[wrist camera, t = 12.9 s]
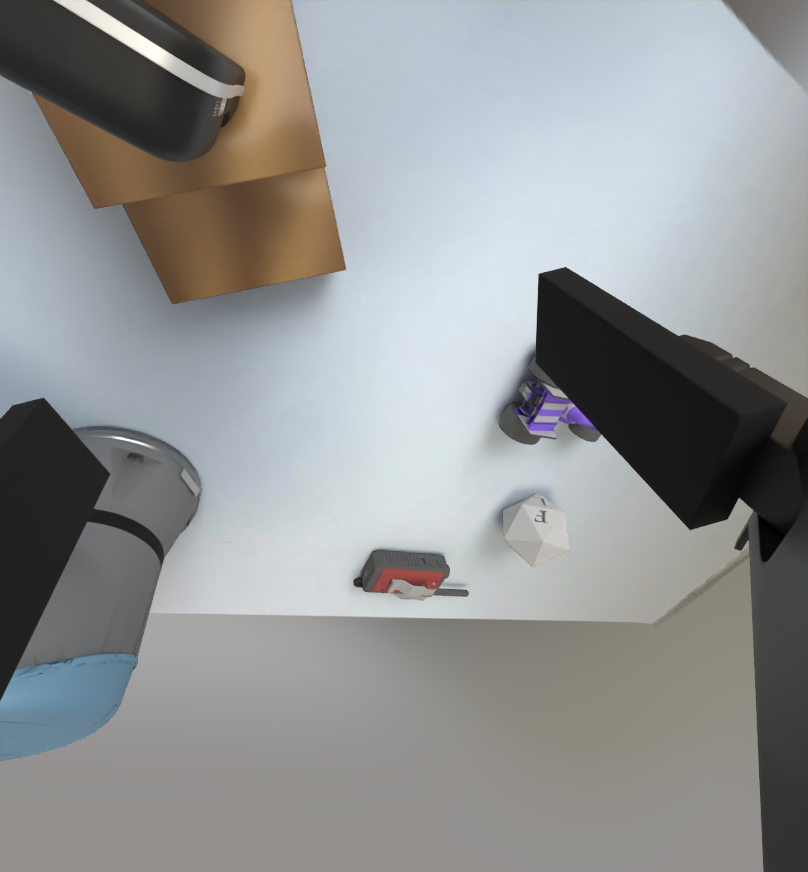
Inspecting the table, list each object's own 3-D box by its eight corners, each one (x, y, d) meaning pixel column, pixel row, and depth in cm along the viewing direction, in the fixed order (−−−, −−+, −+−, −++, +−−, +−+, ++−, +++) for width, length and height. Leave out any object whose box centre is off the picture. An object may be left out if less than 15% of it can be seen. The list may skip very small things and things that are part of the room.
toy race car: (593, 433, 54) (624, 468, 49) (491, 416, 48) (514, 452, 43) (639, 368, 48) (679, 399, 43) (531, 341, 43) (562, 372, 38)
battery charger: (73, 65, 20) (-107, 38, 11) (86, -38, 18) (-117, -170, 9) (229, 154, 23) (188, 189, 14) (253, 74, 21) (223, 56, 12)
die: (563, 493, 61) (585, 512, 51) (552, 552, 62) (572, 582, 52) (503, 484, 62) (513, 501, 52) (494, 542, 63) (502, 570, 53)
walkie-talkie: (347, 584, 63) (462, 589, 70) (350, 611, 59) (471, 614, 67) (366, 546, 58) (487, 557, 66) (371, 574, 55) (498, 581, 62)
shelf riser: (183, 285, 34) (141, 356, 24) (-74, -263, 18) (-448, -628, 9) (341, 254, 34) (358, 311, 25) (224, -293, 19) (159, -652, 10)
